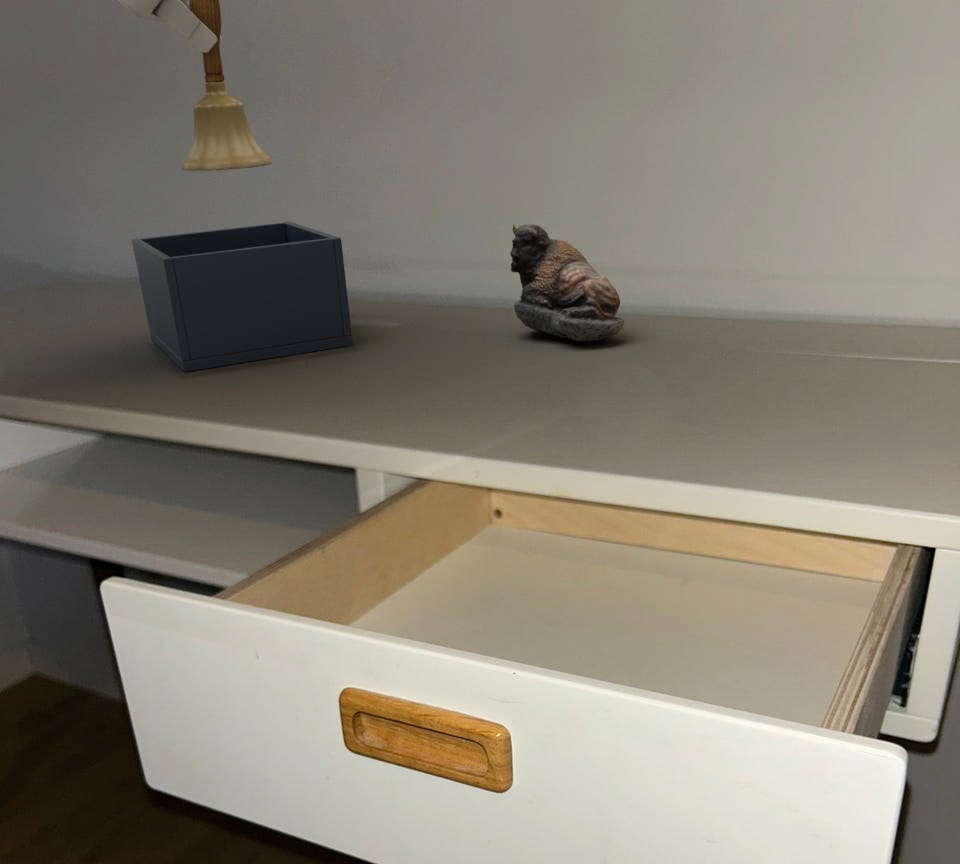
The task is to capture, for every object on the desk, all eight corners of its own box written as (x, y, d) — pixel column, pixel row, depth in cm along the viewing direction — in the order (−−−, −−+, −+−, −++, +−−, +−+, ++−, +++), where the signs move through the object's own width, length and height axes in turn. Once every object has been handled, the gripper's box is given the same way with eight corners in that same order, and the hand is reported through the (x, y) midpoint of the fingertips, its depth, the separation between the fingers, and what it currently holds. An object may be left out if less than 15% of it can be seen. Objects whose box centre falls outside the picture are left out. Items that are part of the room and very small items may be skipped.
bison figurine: (637, 338, 101) (638, 224, 96) (590, 353, 97) (590, 236, 92) (540, 324, 108) (537, 219, 104) (493, 338, 104) (488, 229, 99)
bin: (184, 372, 99) (163, 259, 94) (151, 339, 112) (131, 239, 107) (353, 345, 105) (341, 237, 100) (302, 317, 118) (290, 221, 113)
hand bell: (236, 162, 105) (207, -30, 97) (290, 163, 100) (264, -39, 92) (164, 171, 99) (127, -31, 92) (216, 173, 94) (182, -40, 87)
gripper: (69, -134, 79) (223, 11, 85) (121, -97, 97) (246, 20, 103) (23, -59, 81) (177, 78, 87) (83, -37, 99) (208, 75, 105)
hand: (215, 47), depth 95 cm, fingers closed on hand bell, 2 cm apart
